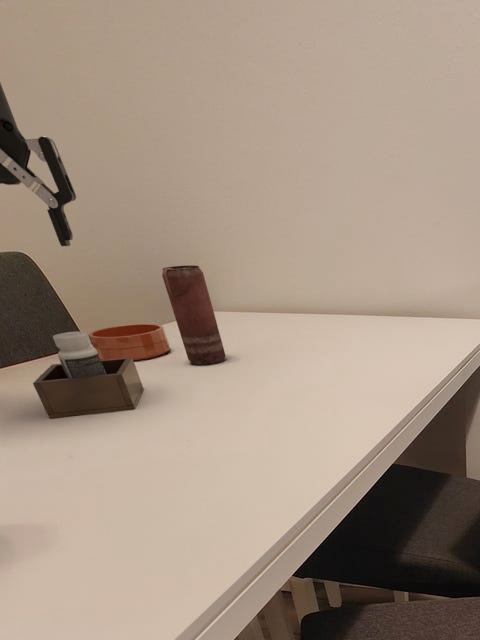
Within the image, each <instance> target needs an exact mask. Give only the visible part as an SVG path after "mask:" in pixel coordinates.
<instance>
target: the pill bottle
mask: <svg viewBox="0 0 480 640" xmlns="http://www.w3.org/2000/svg"><path fill="white" fill-rule="evenodd" d="M52 339H53V341H54V345H55V346H56V347H57V349H59V351H58V353H57V356H58V359H59V362H60V364H62V366H63V368H64V371H65V373H66V375H67V377H68V378H77V377H87V376H97V375H106V372H105V370H104V367H103V365H102V362H101V360H102V359H100V357H99V354H98V352H97V350H96V349H95V348H93V346H92V343H91V341H90V338H89V336H88V334H87V332H85V331H68V332H61V333H57V334H54V335H53V336H52Z"/></svg>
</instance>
